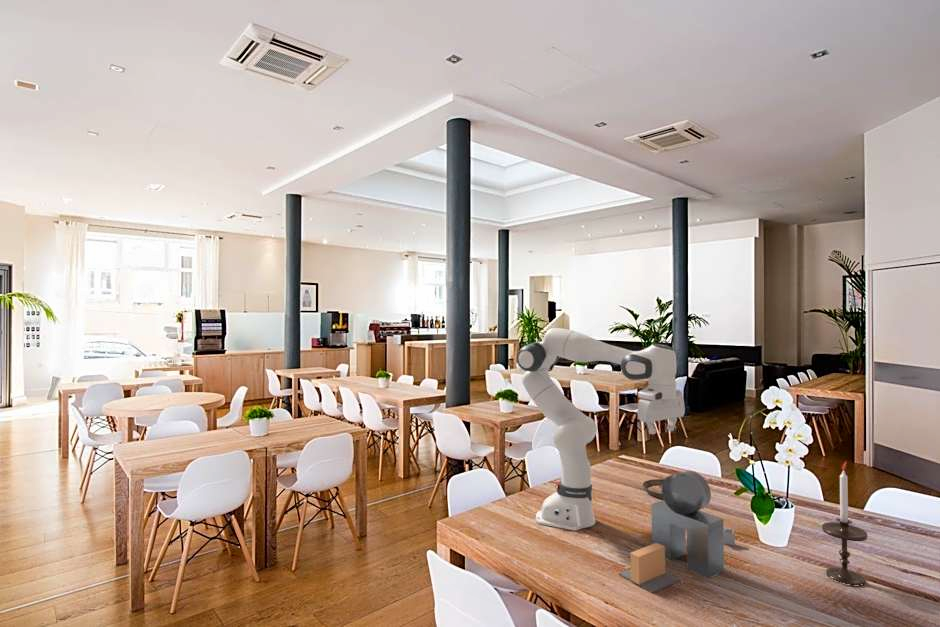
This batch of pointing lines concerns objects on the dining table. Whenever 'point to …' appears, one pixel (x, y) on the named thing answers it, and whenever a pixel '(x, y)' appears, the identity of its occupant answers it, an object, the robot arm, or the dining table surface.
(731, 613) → the dining table surface
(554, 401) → the robot arm
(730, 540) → the lighter
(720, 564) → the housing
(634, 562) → the plug
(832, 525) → the candlestick
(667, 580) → the mat
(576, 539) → the dining table surface
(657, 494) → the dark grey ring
